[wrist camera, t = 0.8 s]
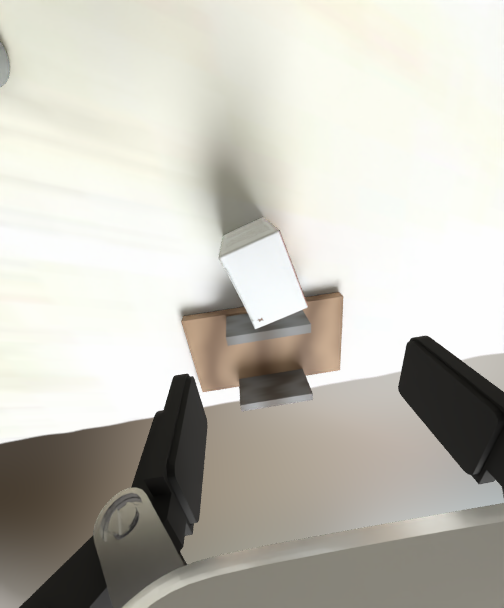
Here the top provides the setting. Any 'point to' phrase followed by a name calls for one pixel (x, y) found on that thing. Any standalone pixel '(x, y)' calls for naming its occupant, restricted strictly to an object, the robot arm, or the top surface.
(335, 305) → the holder stand
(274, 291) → the small box
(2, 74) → the reed diffuser
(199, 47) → the top surface
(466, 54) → the top surface
